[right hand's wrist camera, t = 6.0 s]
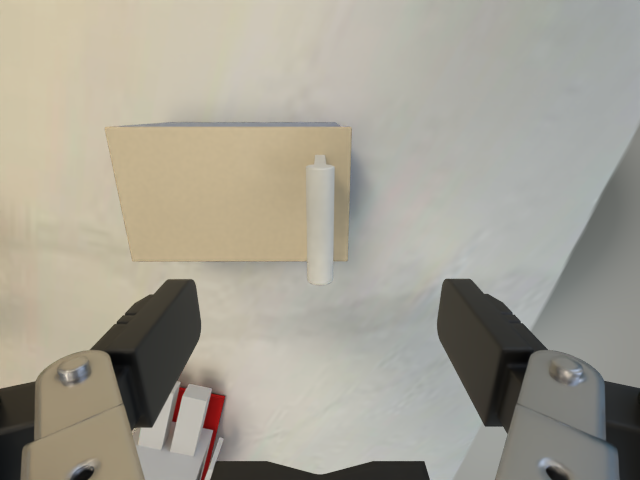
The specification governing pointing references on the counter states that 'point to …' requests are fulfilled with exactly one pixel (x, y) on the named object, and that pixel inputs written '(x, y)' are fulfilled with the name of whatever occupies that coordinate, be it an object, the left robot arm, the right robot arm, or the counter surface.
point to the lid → (235, 193)
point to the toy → (182, 436)
